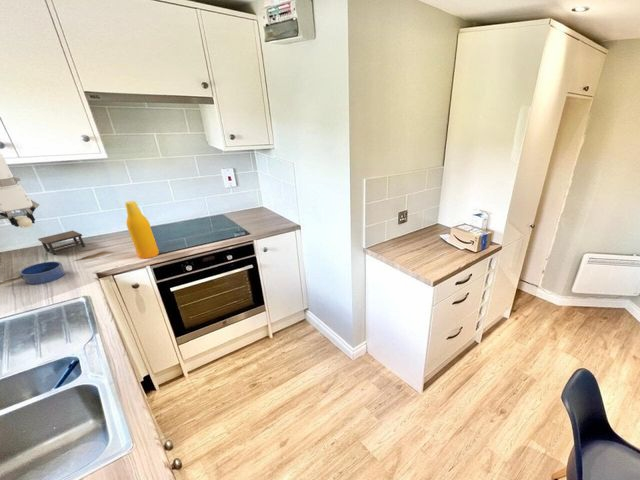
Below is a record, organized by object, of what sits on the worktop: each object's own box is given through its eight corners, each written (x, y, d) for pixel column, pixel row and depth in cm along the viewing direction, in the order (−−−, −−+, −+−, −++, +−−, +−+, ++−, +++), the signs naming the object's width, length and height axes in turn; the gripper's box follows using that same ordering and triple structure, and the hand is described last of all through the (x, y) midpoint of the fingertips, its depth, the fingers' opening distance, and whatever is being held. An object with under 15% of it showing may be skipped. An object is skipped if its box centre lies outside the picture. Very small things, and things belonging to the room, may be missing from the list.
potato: (22, 229, 138) (17, 219, 136) (15, 225, 141) (9, 216, 139) (36, 226, 141) (31, 216, 139) (28, 223, 144) (23, 213, 142)
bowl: (32, 287, 140) (26, 277, 138) (20, 279, 145) (14, 270, 143) (71, 275, 151) (66, 265, 148) (58, 268, 156) (53, 259, 154)
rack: (54, 259, 164) (46, 243, 160) (46, 254, 168) (37, 238, 164) (88, 249, 175) (81, 234, 171) (79, 245, 179) (72, 230, 175)
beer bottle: (134, 258, 168) (113, 204, 154) (146, 251, 176) (127, 199, 163) (152, 259, 168) (133, 205, 155) (163, 251, 177) (146, 200, 163)
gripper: (26, 177, 140) (46, 217, 149) (-33, 185, 127) (-7, 228, 135) (34, 180, 138) (54, 220, 146) (-25, 188, 124) (0, 232, 132)
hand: (24, 223), depth 141 cm, fingers closed on potato, 4 cm apart
